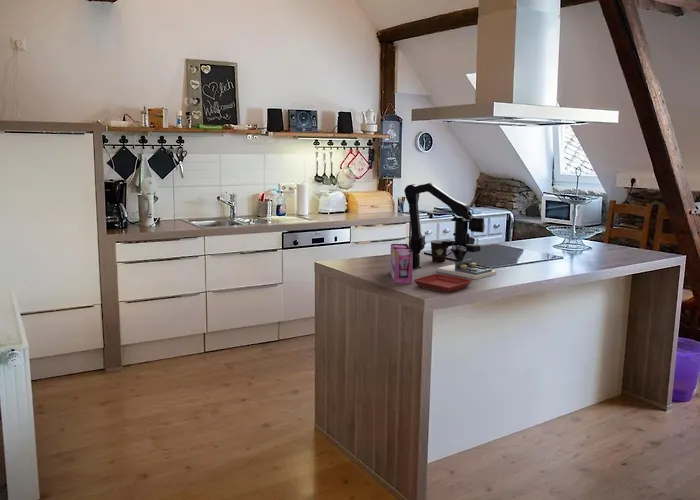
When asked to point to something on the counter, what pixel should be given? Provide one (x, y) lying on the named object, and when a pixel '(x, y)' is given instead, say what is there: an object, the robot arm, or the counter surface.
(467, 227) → the robot arm
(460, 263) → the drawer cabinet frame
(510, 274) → the counter surface
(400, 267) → the gum box
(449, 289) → the plant saucer
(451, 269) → the board
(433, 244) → the coffee mug
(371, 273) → the counter surface
